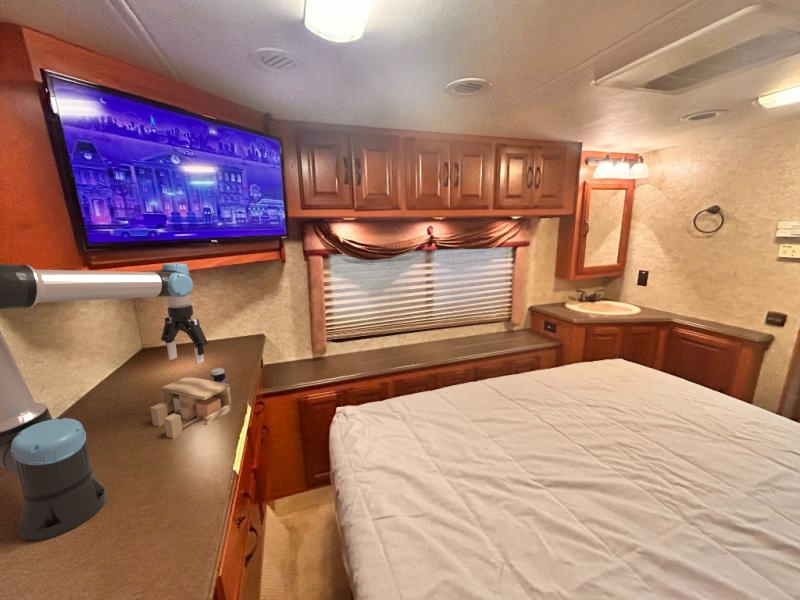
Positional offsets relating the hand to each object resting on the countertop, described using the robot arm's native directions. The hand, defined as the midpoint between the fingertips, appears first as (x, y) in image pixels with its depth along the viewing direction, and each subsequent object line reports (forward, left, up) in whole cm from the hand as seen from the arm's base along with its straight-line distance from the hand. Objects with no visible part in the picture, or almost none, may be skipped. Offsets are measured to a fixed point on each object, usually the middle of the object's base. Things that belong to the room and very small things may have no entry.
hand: (186, 360), depth 119 cm
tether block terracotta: (-3, -5, -23) cm, 24 cm away
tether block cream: (-1, +7, -23) cm, 24 cm away
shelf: (+3, +1, -23) cm, 23 cm away
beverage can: (+17, +5, -23) cm, 29 cm away
